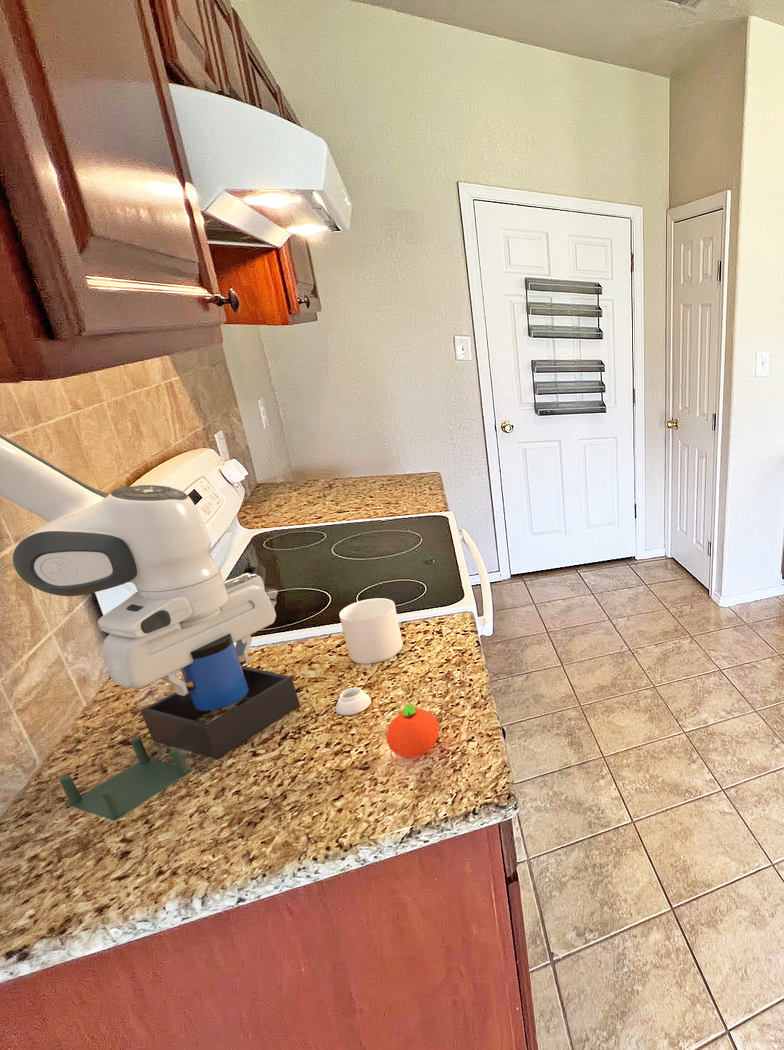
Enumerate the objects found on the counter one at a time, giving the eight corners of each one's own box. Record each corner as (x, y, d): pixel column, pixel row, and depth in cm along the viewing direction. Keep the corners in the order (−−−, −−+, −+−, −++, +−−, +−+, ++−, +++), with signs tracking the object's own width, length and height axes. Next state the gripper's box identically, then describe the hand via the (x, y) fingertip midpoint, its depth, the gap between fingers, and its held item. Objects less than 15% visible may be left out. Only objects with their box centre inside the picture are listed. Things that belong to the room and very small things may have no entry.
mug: (402, 658, 109) (393, 615, 105) (346, 668, 105) (335, 624, 102) (405, 629, 119) (397, 589, 116) (354, 637, 115) (345, 596, 112)
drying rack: (68, 809, 74) (53, 780, 73) (149, 762, 83) (137, 734, 81) (117, 826, 72) (103, 796, 71) (195, 775, 80) (184, 747, 79)
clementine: (388, 741, 88) (379, 703, 85) (437, 726, 91) (430, 689, 89) (393, 774, 82) (384, 734, 79) (445, 756, 85) (438, 717, 83)
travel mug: (182, 706, 86) (160, 648, 82) (228, 681, 92) (209, 626, 88) (215, 714, 84) (194, 656, 80) (259, 689, 90) (241, 633, 86)
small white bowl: (378, 702, 97) (356, 695, 98) (375, 687, 95) (352, 681, 97) (352, 720, 92) (329, 713, 94) (348, 705, 91) (325, 698, 93)
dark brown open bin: (155, 746, 86) (139, 710, 83) (242, 695, 97) (231, 662, 95) (219, 764, 83) (205, 727, 80) (301, 710, 94) (291, 676, 92)
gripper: (243, 565, 92) (266, 639, 97) (80, 626, 73) (119, 714, 78) (273, 570, 90) (295, 645, 95) (115, 634, 72) (152, 723, 77)
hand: (214, 677), depth 86 cm, fingers closed on travel mug, 6 cm apart
